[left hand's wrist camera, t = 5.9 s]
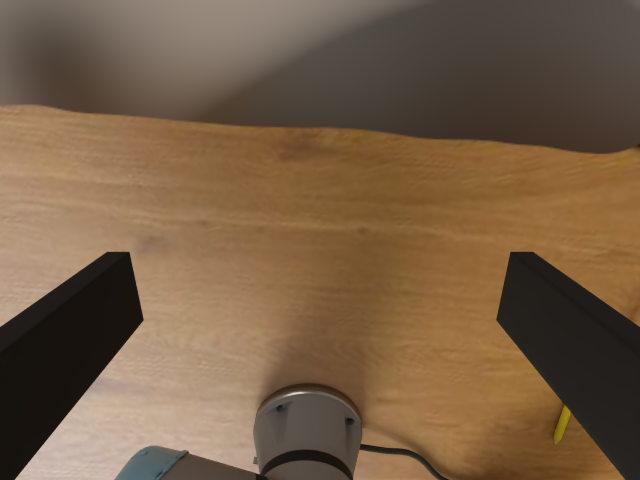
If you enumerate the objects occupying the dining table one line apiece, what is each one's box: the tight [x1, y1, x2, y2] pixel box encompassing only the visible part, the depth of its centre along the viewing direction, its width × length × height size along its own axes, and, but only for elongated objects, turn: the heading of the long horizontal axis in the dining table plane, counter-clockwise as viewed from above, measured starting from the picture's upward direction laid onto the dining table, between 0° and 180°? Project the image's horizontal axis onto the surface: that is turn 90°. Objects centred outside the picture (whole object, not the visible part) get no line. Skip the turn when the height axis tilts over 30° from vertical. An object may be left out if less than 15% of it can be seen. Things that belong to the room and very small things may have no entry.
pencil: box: [553, 405, 571, 444], centre depth 49 cm, size 16×1×1 cm, turn 178°
